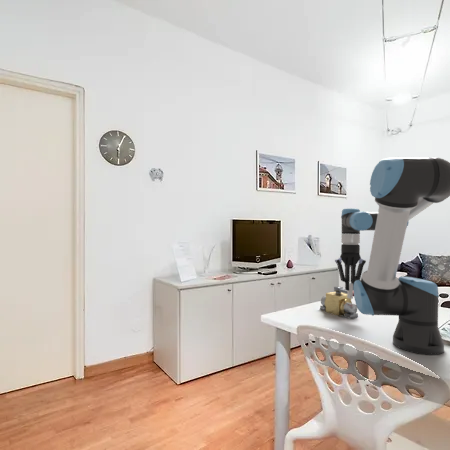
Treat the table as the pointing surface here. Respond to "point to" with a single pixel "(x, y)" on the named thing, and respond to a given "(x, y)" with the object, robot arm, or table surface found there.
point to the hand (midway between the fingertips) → (349, 297)
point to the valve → (339, 304)
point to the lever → (341, 290)
